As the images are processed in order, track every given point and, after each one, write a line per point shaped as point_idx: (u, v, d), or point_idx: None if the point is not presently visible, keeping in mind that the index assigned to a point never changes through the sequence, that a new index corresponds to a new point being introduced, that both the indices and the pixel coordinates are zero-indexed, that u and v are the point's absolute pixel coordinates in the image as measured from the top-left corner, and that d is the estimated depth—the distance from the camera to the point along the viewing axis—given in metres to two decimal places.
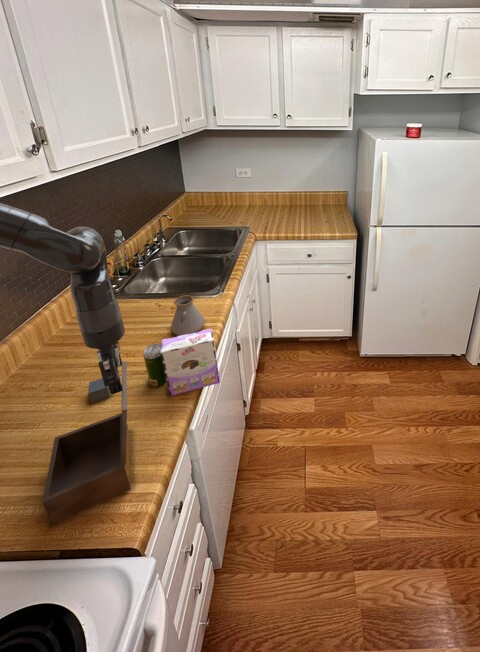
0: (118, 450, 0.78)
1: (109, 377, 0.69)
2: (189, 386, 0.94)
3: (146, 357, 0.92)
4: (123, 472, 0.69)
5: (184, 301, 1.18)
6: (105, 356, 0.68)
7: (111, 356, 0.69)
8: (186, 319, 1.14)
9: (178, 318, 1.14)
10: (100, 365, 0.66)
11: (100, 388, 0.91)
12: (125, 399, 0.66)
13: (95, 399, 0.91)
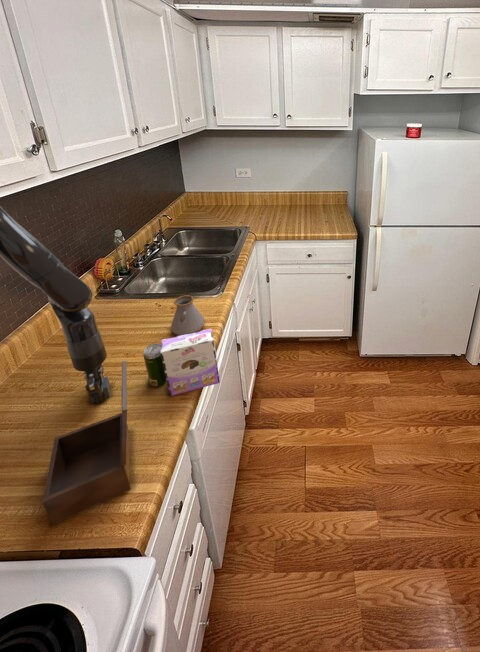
0: (118, 450, 0.78)
1: None
2: (189, 386, 0.94)
3: (146, 357, 0.92)
4: (123, 472, 0.69)
5: (184, 301, 1.18)
6: (90, 379, 0.86)
7: (95, 377, 0.87)
8: (186, 319, 1.14)
9: (178, 318, 1.14)
10: (87, 388, 0.84)
11: None
12: (125, 399, 0.66)
13: None
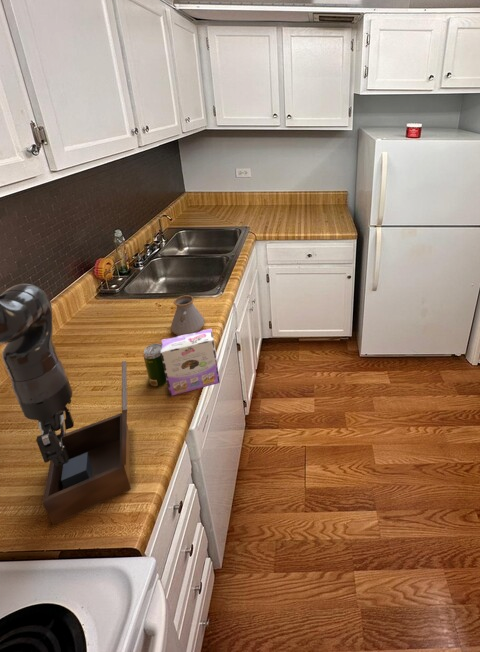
0: (118, 450, 0.78)
1: (51, 450, 0.62)
2: (189, 386, 0.94)
3: (146, 357, 0.92)
4: (123, 472, 0.69)
5: (184, 301, 1.18)
6: (46, 428, 0.61)
7: (54, 427, 0.62)
8: (186, 319, 1.14)
9: (178, 318, 1.14)
10: (38, 441, 0.59)
11: (77, 472, 0.70)
12: (125, 399, 0.66)
13: None
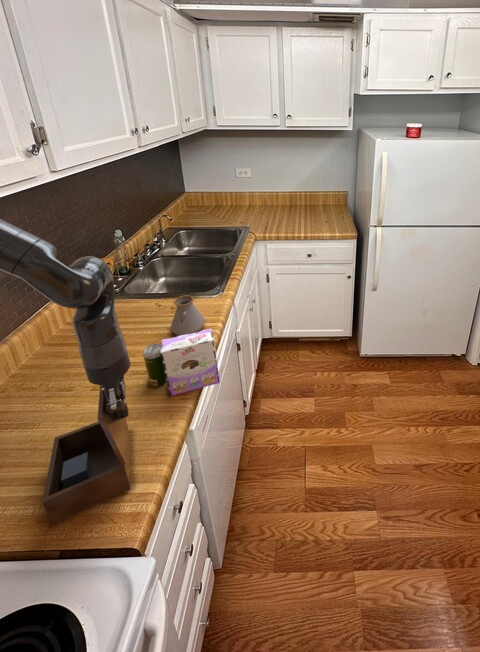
0: None
1: None
2: (189, 386, 0.94)
3: (146, 357, 0.92)
4: (123, 472, 0.69)
5: (184, 301, 1.18)
6: (111, 397, 0.65)
7: (116, 392, 0.66)
8: (186, 319, 1.14)
9: (178, 318, 1.14)
10: (108, 410, 0.64)
11: (77, 472, 0.70)
12: (101, 406, 0.64)
13: None
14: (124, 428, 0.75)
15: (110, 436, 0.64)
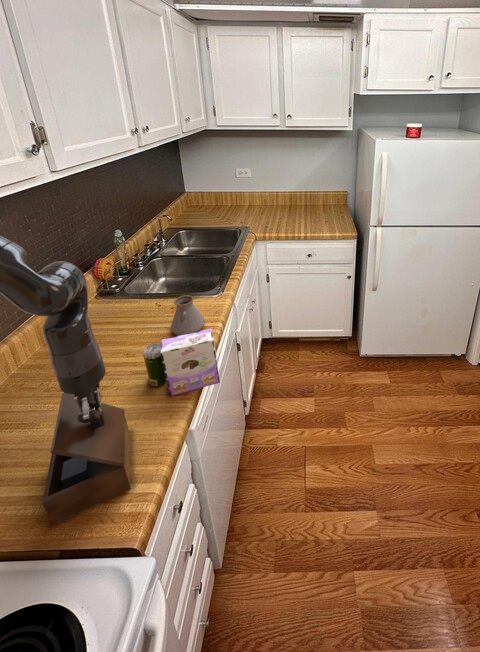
0: None
1: None
2: (189, 386, 0.94)
3: (146, 357, 0.92)
4: (123, 472, 0.69)
5: (184, 301, 1.18)
6: (84, 407, 0.63)
7: (89, 401, 0.64)
8: (186, 319, 1.14)
9: (178, 318, 1.14)
10: (80, 420, 0.62)
11: (77, 472, 0.70)
12: (54, 438, 0.62)
13: None
14: (121, 429, 0.75)
15: (81, 456, 0.63)
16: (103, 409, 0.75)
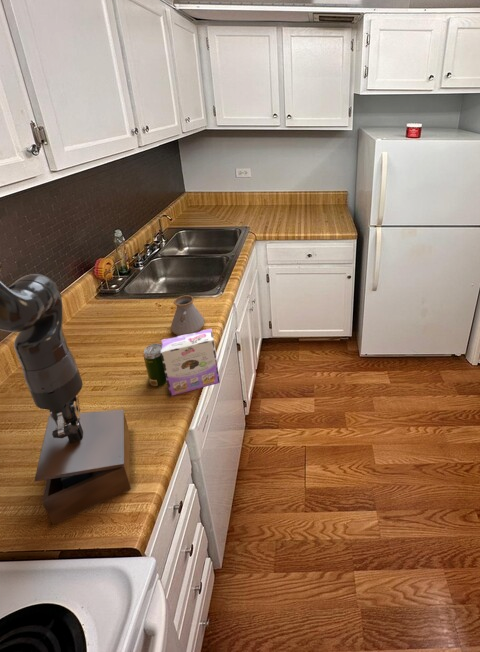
0: None
1: None
2: (189, 386, 0.94)
3: (146, 357, 0.92)
4: (123, 472, 0.69)
5: (184, 301, 1.18)
6: (59, 422, 0.61)
7: (65, 416, 0.62)
8: (186, 319, 1.14)
9: (178, 318, 1.14)
10: (55, 436, 0.61)
11: None
12: None
13: None
14: (120, 430, 0.74)
15: (71, 473, 0.63)
16: (97, 417, 0.75)
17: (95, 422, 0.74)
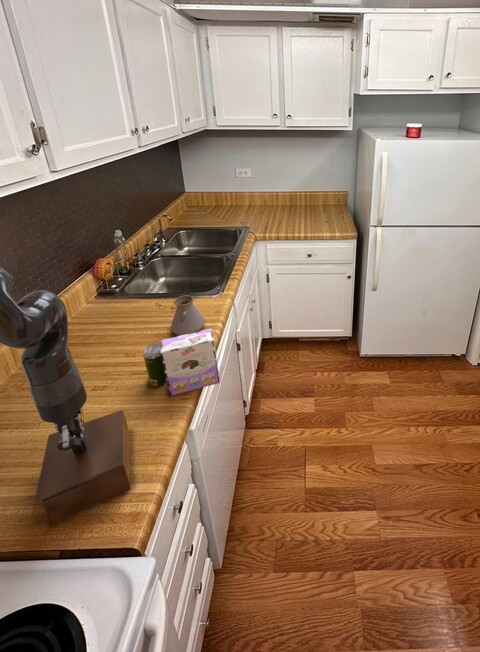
0: None
1: None
2: (189, 386, 0.94)
3: (146, 357, 0.92)
4: (123, 472, 0.69)
5: (184, 301, 1.18)
6: (64, 435, 0.63)
7: (69, 429, 0.63)
8: (186, 319, 1.14)
9: (178, 318, 1.14)
10: (60, 449, 0.62)
11: None
12: None
13: None
14: (119, 431, 0.74)
15: (70, 486, 0.64)
16: (96, 425, 0.76)
17: (94, 430, 0.75)
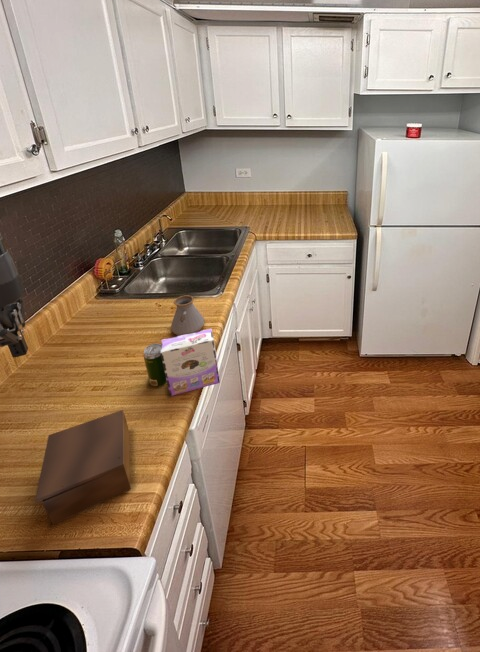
0: None
1: None
2: (189, 386, 0.94)
3: (146, 357, 0.92)
4: (123, 472, 0.69)
5: (184, 301, 1.18)
6: None
7: (2, 320, 0.59)
8: (186, 319, 1.14)
9: (178, 318, 1.14)
10: None
11: None
12: None
13: None
14: (119, 431, 0.74)
15: (70, 486, 0.64)
16: (96, 425, 0.76)
17: (94, 430, 0.75)
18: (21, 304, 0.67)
